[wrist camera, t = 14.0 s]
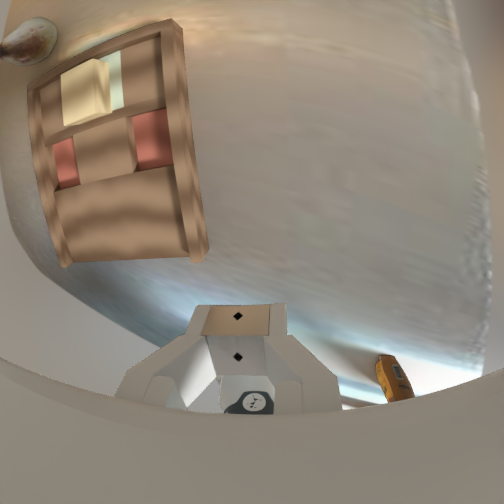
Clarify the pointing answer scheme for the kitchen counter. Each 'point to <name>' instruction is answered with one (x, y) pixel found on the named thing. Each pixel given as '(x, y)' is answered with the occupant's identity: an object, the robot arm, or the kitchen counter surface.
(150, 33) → the box
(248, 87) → the kitchen counter surface
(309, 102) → the kitchen counter surface
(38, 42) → the fruit
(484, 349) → the kitchen counter surface
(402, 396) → the pancake mix bag
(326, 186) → the kitchen counter surface
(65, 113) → the maple block
